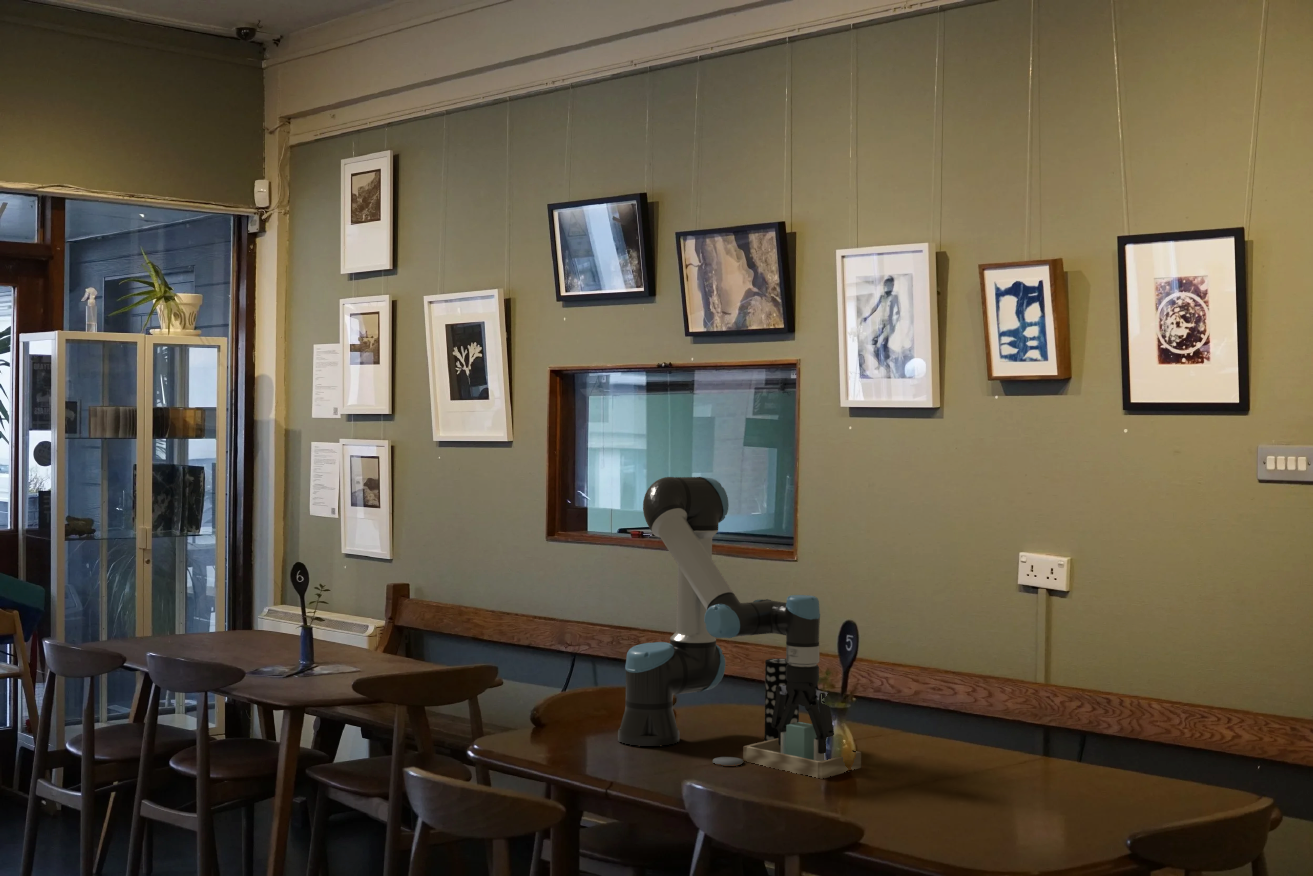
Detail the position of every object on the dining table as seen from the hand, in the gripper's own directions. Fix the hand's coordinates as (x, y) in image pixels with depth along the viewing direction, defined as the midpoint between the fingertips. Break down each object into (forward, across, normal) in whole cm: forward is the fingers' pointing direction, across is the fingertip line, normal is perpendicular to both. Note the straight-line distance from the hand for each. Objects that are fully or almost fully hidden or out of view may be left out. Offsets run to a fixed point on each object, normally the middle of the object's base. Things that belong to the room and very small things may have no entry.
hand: (801, 764), depth 283 cm
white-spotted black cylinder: (0, -17, +14) cm, 22 cm away
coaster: (0, -13, -11) cm, 17 cm away
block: (0, 0, 0) cm, 0 cm away
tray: (0, 0, 0) cm, 0 cm away
